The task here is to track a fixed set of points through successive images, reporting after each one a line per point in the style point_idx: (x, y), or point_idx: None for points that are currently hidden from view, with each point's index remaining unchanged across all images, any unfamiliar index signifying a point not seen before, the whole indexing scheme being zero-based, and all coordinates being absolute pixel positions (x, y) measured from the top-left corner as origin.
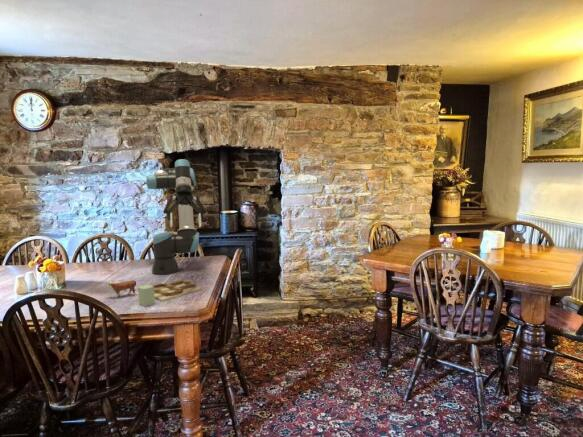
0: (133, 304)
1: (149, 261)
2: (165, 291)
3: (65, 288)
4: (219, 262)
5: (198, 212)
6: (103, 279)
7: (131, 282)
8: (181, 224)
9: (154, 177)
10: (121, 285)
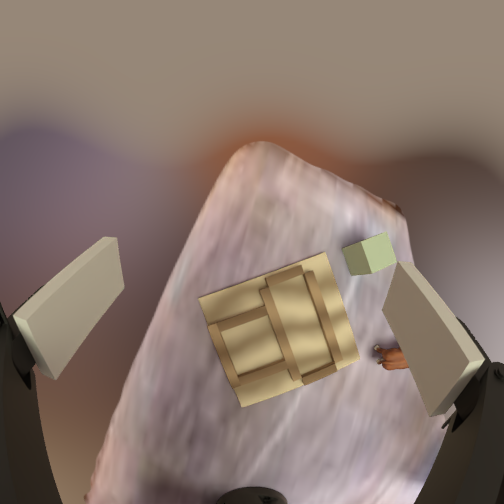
0: (384, 270)
1: None
2: (311, 292)
3: None
4: (103, 497)
5: (25, 389)
6: (391, 487)
7: (395, 354)
8: None
9: None
10: None
